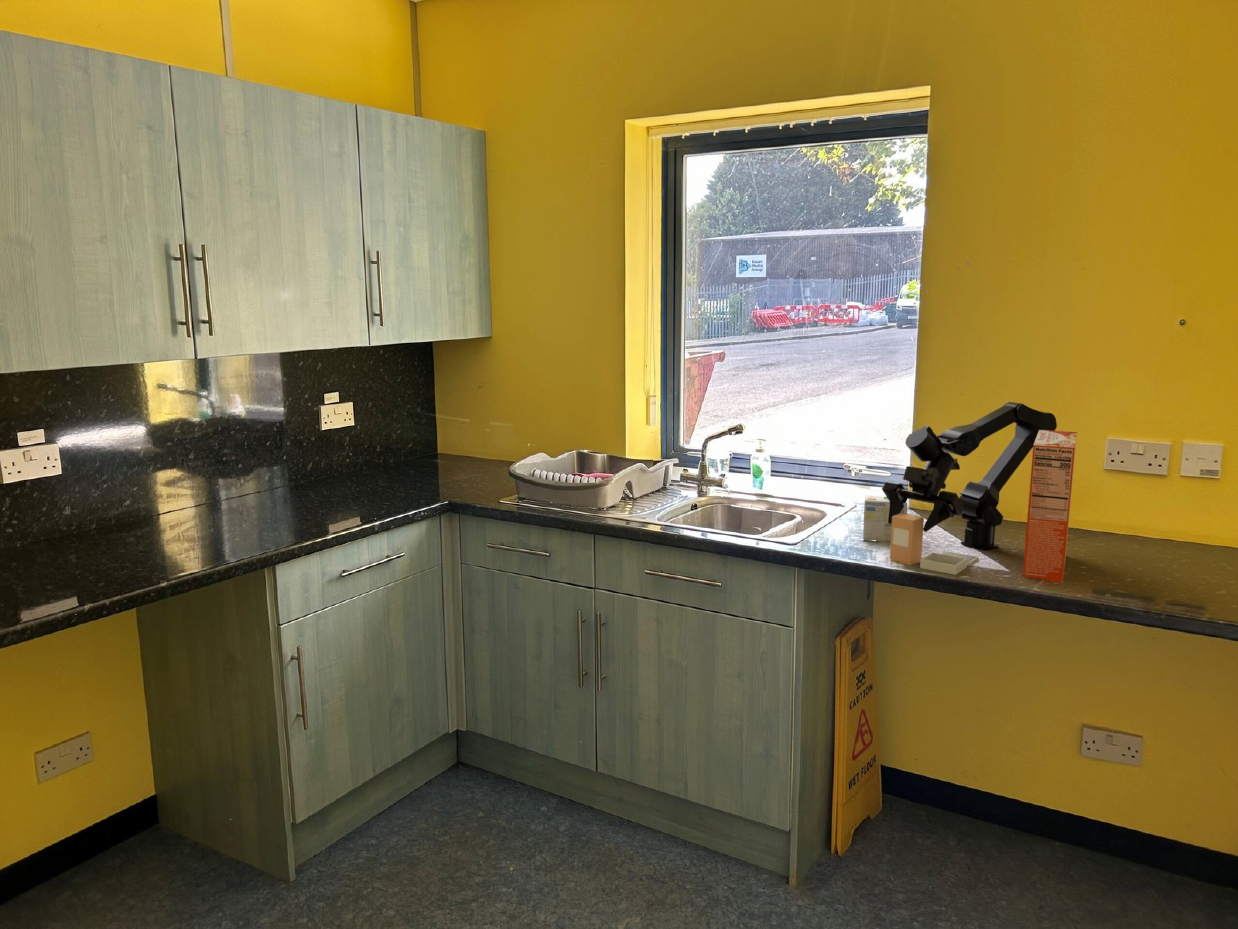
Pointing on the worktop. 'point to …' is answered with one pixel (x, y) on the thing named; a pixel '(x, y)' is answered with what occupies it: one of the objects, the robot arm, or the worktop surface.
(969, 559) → the case lid
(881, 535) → the light bulb box
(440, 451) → the worktop surface
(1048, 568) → the orange cereal box
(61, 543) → the worktop surface
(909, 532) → the block
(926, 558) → the case
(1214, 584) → the worktop surface
